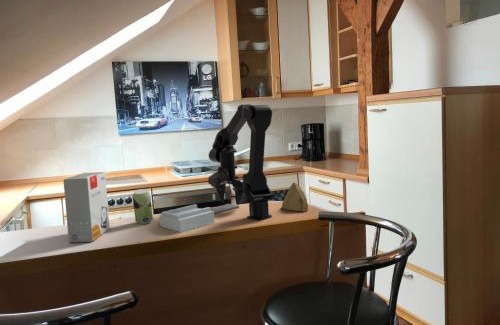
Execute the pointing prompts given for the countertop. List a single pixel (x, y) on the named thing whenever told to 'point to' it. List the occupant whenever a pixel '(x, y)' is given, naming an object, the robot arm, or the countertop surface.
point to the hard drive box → (86, 206)
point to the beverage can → (142, 206)
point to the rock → (295, 199)
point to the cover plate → (224, 208)
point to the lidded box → (186, 218)
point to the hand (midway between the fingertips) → (229, 203)
